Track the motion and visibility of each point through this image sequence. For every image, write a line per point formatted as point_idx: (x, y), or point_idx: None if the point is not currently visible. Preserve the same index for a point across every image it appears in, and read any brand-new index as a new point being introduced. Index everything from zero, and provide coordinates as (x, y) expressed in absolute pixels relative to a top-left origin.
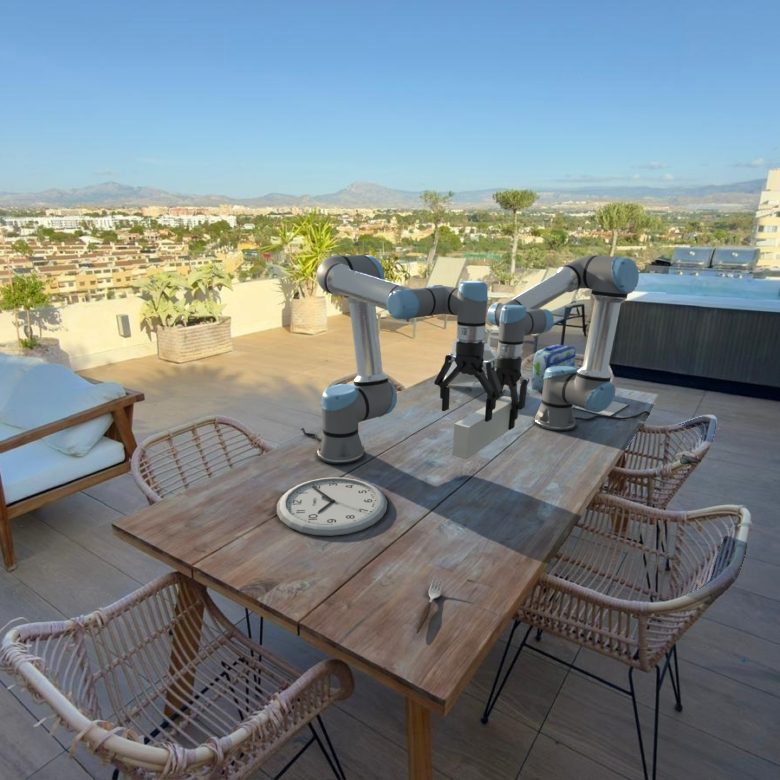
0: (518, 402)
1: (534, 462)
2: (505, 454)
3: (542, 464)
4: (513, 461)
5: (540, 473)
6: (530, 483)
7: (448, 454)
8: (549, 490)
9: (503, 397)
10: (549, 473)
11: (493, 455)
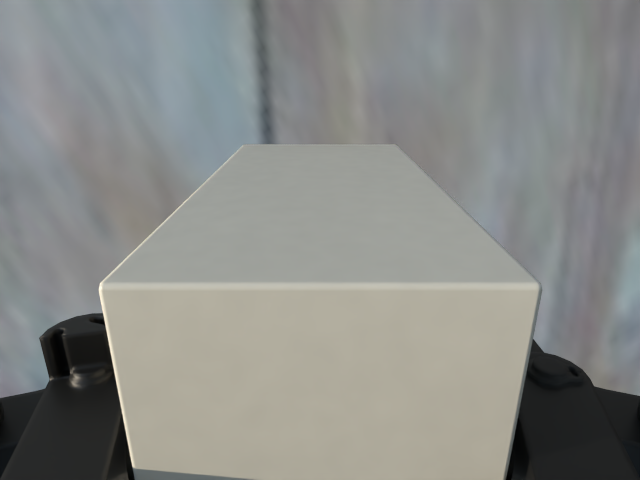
0: (621, 455)
1: (494, 59)
2: (299, 62)
3: (545, 55)
4: (381, 130)
5: (559, 182)
6: (538, 311)
7: (57, 274)
8: (631, 321)
9: (170, 410)
10: (605, 150)
11: (249, 127)
